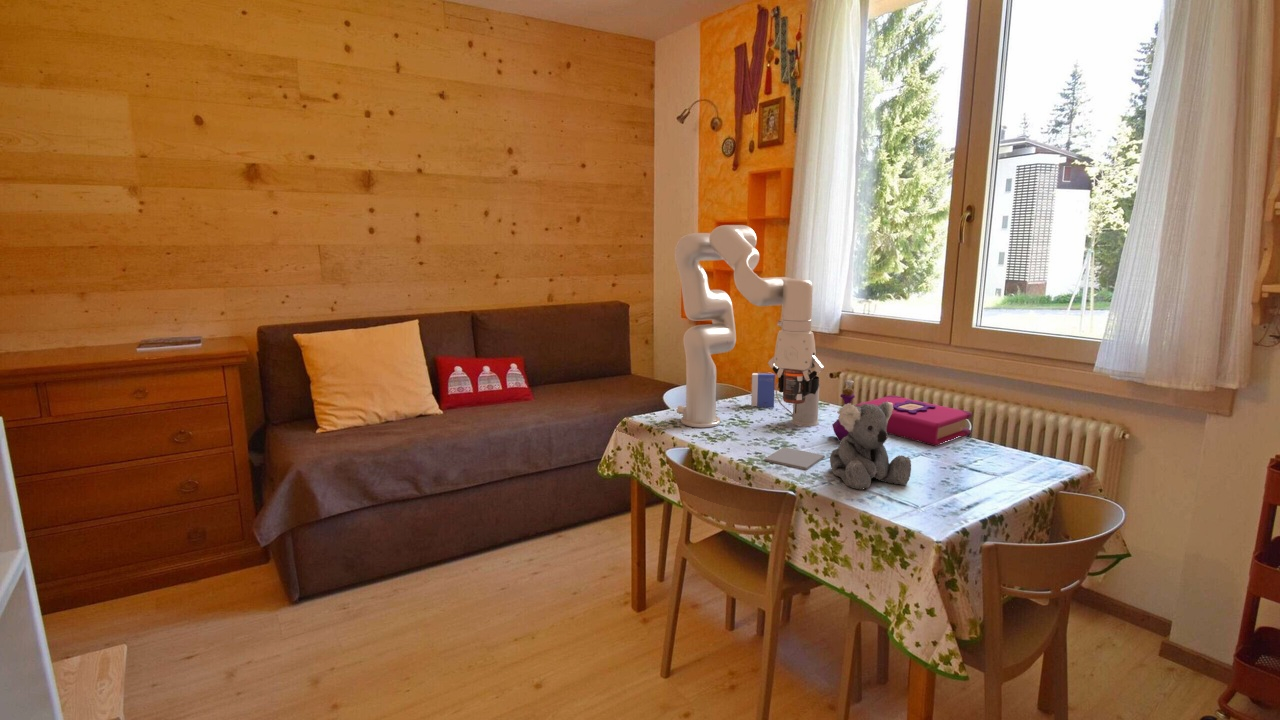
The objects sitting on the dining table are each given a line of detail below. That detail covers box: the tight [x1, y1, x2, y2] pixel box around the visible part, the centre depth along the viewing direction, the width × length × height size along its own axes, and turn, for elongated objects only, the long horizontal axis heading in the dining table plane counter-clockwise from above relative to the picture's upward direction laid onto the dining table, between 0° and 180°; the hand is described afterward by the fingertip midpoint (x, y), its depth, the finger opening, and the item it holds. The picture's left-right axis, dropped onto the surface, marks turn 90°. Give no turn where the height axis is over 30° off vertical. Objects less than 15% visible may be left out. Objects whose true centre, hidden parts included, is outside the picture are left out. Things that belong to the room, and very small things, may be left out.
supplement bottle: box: [782, 369, 806, 405], centre depth 178 cm, size 6×6×11 cm
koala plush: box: [829, 401, 912, 490], centre depth 166 cm, size 17×18×20 cm
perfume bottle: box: [831, 380, 856, 442], centre depth 195 cm, size 8×8×18 cm
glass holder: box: [774, 375, 820, 428], centre depth 213 cm, size 9×14×15 cm, turn 89°
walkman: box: [750, 371, 776, 408], centre depth 233 cm, size 8×3×12 cm, turn 85°
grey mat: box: [764, 446, 826, 471], centre depth 180 cm, size 12×12×1 cm
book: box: [855, 394, 973, 446], centre depth 206 cm, size 21×28×8 cm
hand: (794, 392), depth 178 cm, fingers closed on supplement bottle, 6 cm apart
